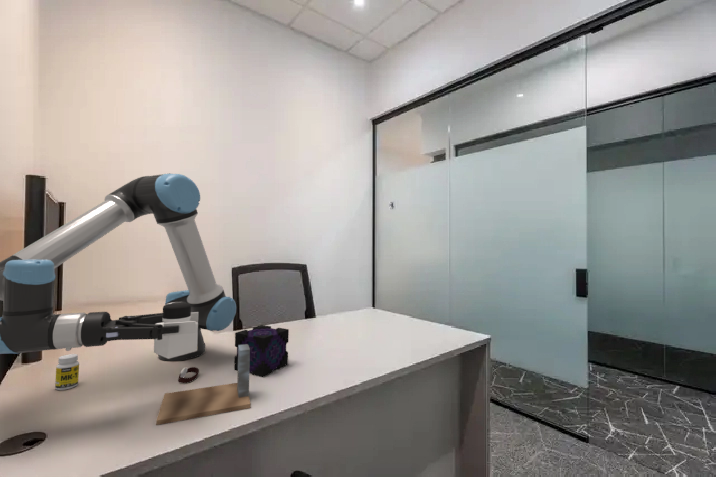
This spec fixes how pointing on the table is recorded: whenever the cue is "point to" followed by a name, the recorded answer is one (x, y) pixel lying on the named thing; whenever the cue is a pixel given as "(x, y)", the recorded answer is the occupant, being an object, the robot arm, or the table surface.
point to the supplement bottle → (67, 372)
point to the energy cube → (264, 349)
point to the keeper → (209, 396)
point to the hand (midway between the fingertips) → (196, 321)
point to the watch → (185, 371)
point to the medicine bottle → (181, 342)
